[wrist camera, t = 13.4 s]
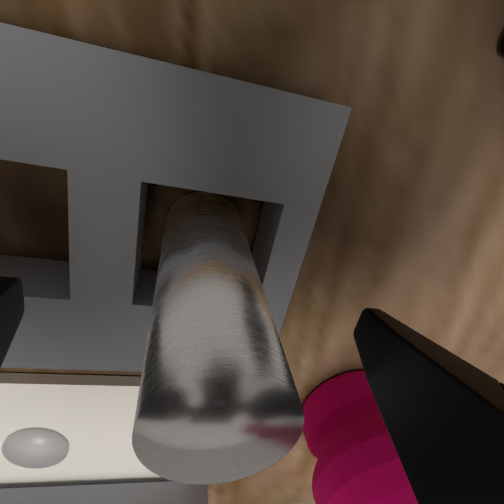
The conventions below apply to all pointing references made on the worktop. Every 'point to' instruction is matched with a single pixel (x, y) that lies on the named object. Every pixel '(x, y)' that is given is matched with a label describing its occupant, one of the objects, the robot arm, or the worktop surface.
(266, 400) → the pin
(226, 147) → the hole board
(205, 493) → the cover
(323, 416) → the pepper mill
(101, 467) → the plate
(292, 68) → the worktop surface
